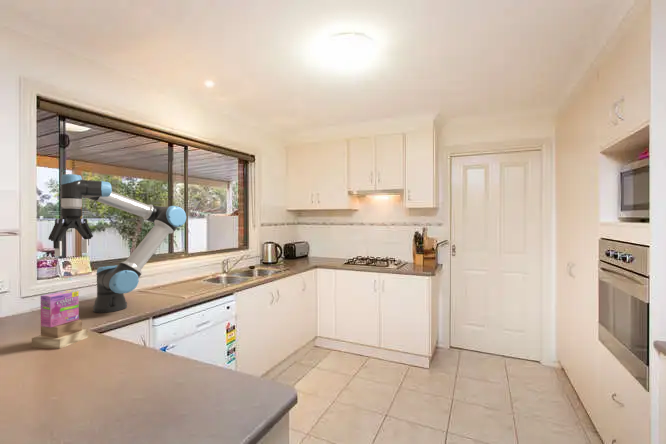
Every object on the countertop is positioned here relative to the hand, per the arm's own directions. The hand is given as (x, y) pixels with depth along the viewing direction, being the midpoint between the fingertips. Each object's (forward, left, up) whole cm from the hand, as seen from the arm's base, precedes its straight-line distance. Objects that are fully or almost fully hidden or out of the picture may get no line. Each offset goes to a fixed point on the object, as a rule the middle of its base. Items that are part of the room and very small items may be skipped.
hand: (72, 254), depth 154 cm
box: (+22, +17, -24) cm, 37 cm away
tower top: (+22, +18, -28) cm, 40 cm away
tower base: (+22, +17, -32) cm, 43 cm away
